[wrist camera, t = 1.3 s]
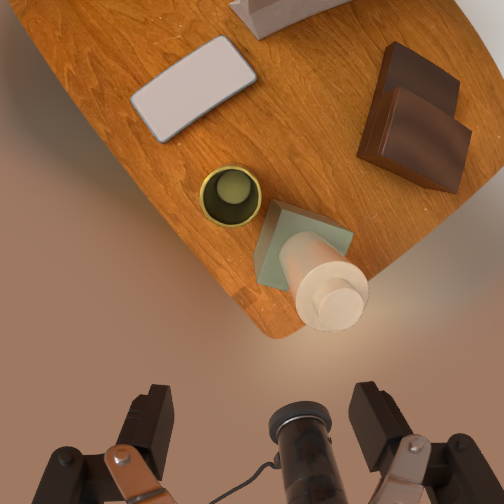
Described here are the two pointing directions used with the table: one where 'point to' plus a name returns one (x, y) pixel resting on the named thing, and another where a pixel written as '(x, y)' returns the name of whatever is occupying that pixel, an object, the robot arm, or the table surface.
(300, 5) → the barrier
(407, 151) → the brown box
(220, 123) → the table surface
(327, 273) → the cream stepped cylinder
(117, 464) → the robot arm
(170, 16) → the table surface
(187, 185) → the table surface
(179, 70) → the smartphone
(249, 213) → the vase
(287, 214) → the cube
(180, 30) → the table surface
